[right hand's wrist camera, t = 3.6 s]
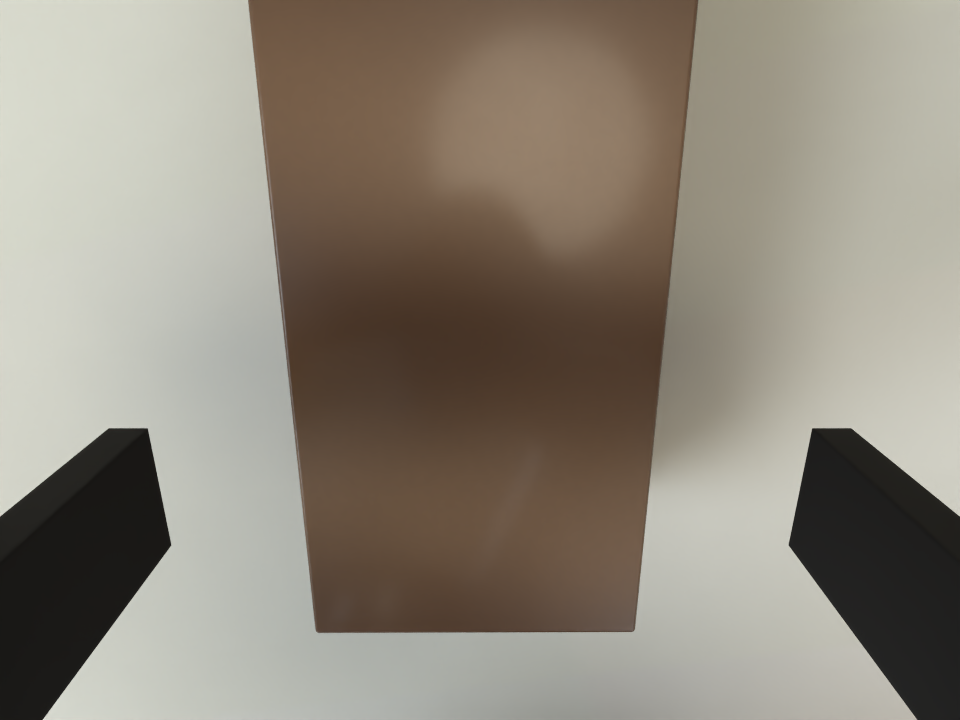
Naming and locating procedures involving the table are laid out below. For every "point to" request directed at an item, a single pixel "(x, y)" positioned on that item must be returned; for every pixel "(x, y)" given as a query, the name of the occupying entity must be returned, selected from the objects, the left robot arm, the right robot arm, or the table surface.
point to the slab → (474, 298)
